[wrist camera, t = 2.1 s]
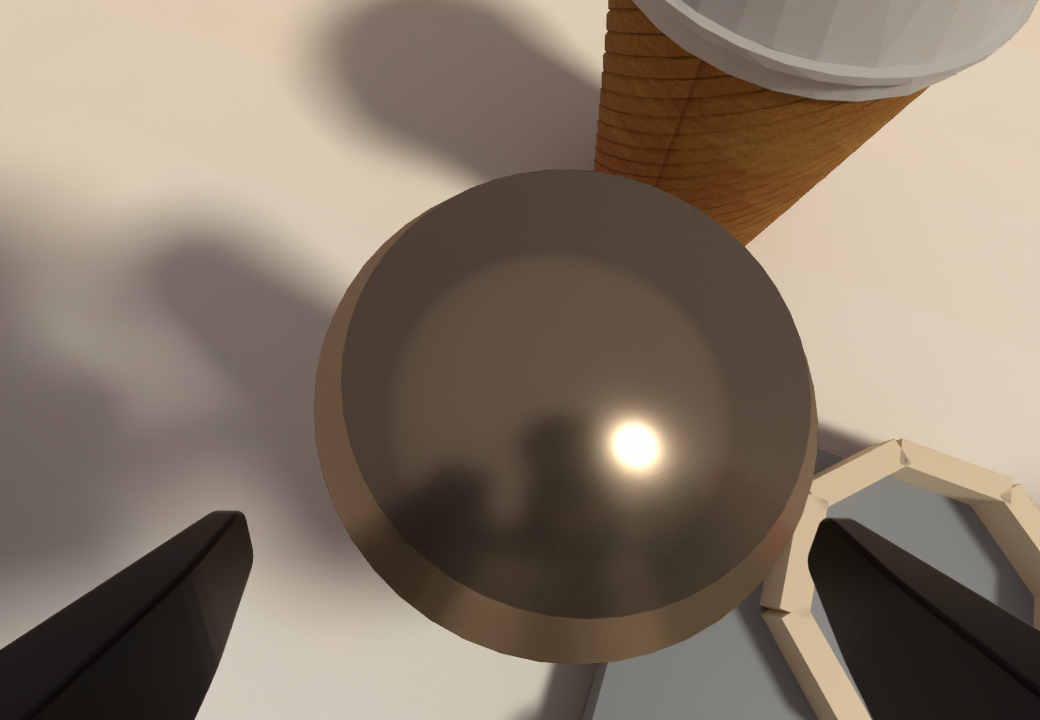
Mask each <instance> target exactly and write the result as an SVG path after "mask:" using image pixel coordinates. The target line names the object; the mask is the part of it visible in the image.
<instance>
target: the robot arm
mask: <svg viewBox="0 0 1040 720" xmlns="http://www.w3.org/2000/svg"><path fill="white" fill-rule="evenodd" d="M252 563H253V548H252V544H251V539H250V535H249V530H248V525H247V521H246V518H245V515H244V514H243V513H242V512H240V511H214V512H211V513H209V514H208V515H206V516H205V517H203V518H202V519H200V520H198V521H197V522H195V523H194V524H192V525H191V526H189V527H188V528H186V529H185V530H183V531H182V532H180V533H179V534H177V535H175V536H174V537H172V538H171V539H169V540H168V541H166V542H165V543H163V544H162V545H160V546H159V547H157V548H156V549H154V550H152V551H151V552H149V553H148V554H146V555H145V556H143V557H142V558H140V559H139V560H137V561H136V562H134V563H133V564H131V565H130V566H128V567H126V568H125V569H123V570H122V571H120V572H119V573H117V574H116V575H114V576H113V577H111V578H110V579H108V580H107V581H105V582H103V583H102V584H100V585H99V586H97V587H96V588H94V589H93V590H91V591H90V592H88V593H87V594H85V595H84V596H82V597H80V598H79V599H77V600H76V601H74V602H73V603H71V604H70V605H68V606H67V607H65V608H64V609H62V610H61V611H59V612H57V613H56V614H54V615H53V616H51V617H50V618H48V619H47V620H45V621H44V622H42V623H41V624H39V625H38V626H36V627H35V628H33V629H31V630H30V631H28V632H27V633H25V634H24V635H22V636H21V637H19V638H18V639H16V640H15V641H13V642H12V643H10V644H8V645H7V646H5V647H4V648H2V649H1V650H0V720H195V718H196V716H197V713H198V711H199V709H200V707H201V705H202V702H203V700H204V698H205V696H206V693H207V691H208V689H209V687H210V685H211V682H212V680H213V678H214V675H215V673H216V671H217V668H218V666H219V663H220V660H221V657H222V655H223V652H224V649H225V646H226V643H227V640H228V637H229V634H230V631H231V628H232V625H233V622H234V619H235V616H236V613H237V610H238V607H239V604H240V601H241V598H242V595H243V592H244V589H245V586H246V583H247V580H248V577H249V574H250V571H251V568H252ZM808 569H809V572H810V575H811V578H812V580H813V583H814V585H815V588H816V590H817V593H818V596H819V598H820V601H821V603H822V606H823V608H824V611H825V613H826V616H827V619H828V621H829V624H830V626H831V629H832V631H833V634H834V637H835V639H836V642H837V644H838V647H839V649H840V652H841V654H842V656H843V659H844V661H845V663H846V666H847V668H848V670H849V672H850V674H851V676H852V678H853V680H854V683H855V685H856V687H857V689H858V691H859V692H860V694H861V696H862V698H863V700H864V702H865V704H866V706H867V708H868V710H869V712H870V714H871V716H872V718H873V720H1040V630H1038V629H1036V628H1035V627H1033V626H1031V625H1030V624H1028V623H1026V622H1025V621H1023V620H1021V619H1019V618H1018V617H1016V616H1014V615H1013V614H1011V613H1009V612H1008V611H1006V610H1004V609H1003V608H1001V607H999V606H998V605H996V604H994V603H993V602H991V601H989V600H988V599H986V598H984V597H983V596H981V595H979V594H978V593H976V592H974V591H973V590H971V589H969V588H968V587H966V586H964V585H962V584H961V583H959V582H957V581H956V580H954V579H952V578H951V577H949V576H947V575H946V574H944V573H942V572H941V571H939V570H937V569H936V568H934V567H932V566H931V565H929V564H927V563H926V562H924V561H922V560H921V559H919V558H917V557H916V556H914V555H912V554H911V553H909V552H907V551H906V550H904V549H902V548H900V547H899V546H897V545H895V544H894V543H892V542H890V541H889V540H887V539H885V538H884V537H882V536H880V535H879V534H877V533H875V532H874V531H872V530H870V529H869V528H867V527H865V526H864V525H862V524H860V523H859V522H857V521H855V520H853V519H851V518H840V517H828V518H824V519H823V520H822V521H821V522H820V523H819V525H818V528H817V531H816V534H815V537H814V540H813V542H812V545H811V548H810V551H809V554H808Z"/></svg>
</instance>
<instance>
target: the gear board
mask: <svg viewBox="0 0 1040 720" xmlns="http://www.w3.org/2000/svg"><path fill="white" fill-rule="evenodd" d="M828 517H840V518H851V519H853V520H855V521H857V522H859V523H860V524H862V525H864V526H865V527H867V528H869V529H870V530H872V531H874V532H875V533H877V534H879V535H880V536H882V537H884V538H885V539H887V540H889V541H890V542H892V543H894V544H895V545H897V546H899V547H900V548H902V549H904V550H906V551H907V552H909V553H911V554H912V555H914V556H916V557H917V558H919V559H921V560H922V561H924V562H926V563H927V564H929V565H931V566H932V567H934V568H936V569H937V570H939V571H941V572H942V573H944V574H946V575H947V576H949V577H951V578H952V579H954V580H956V581H957V582H959V583H961V584H962V585H964V586H966V587H968V588H969V589H971V590H973V591H974V592H976V593H978V594H979V595H981V596H983V597H984V598H986V599H988V600H989V601H991V602H993V603H994V604H996V605H998V606H999V607H1001V608H1003V609H1004V610H1006V611H1008V612H1009V613H1011V614H1013V615H1014V616H1016V617H1018V618H1019V619H1021V620H1023V621H1025V622H1026V623H1028V624H1030V625H1031V626H1033V627H1035V628H1036V629H1038V630H1040V511H1039V509H1038V508H1037V507H1036V505H1035V504H1034V503H1033V501H1032V500H1031V498H1030V497H1029V496H1028V494H1027V493H1026V492H1025V490H1024V489H1023V488H1022V486H1021V485H1020V484H1015V485H1012V478H1010V477H1008V476H1005V475H1002V474H999V473H996V472H994V471H991V470H988V469H985V468H983V467H980V466H977V465H974V464H971V463H969V462H966V461H963V460H960V459H958V458H955V457H952V456H949V455H946V454H944V453H941V452H938V451H935V450H933V449H930V448H927V447H924V446H921V445H919V444H916V443H913V442H910V441H908V440H905V439H900V440H895V439H892V440H889V441H886V442H883V443H879V444H876V445H873V446H869V447H867V448H865V449H863V450H861V451H860V452H858V453H856V454H854V455H852V456H850V457H848V458H846V459H842V458H839V457H836V456H834V455H831V454H828V453H825V452H823V451H820V450H817V455H816V461H815V468H814V474H813V481H812V485H811V488H810V492H809V495H808V498H807V502H806V505H805V508H804V512H803V515H802V517H801V519H800V521H799V523H798V525H797V527H796V530H795V532H794V534H793V536H792V538H791V540H790V542H789V544H788V546H787V547H786V549H785V550H784V552H783V553H782V555H781V557H780V558H779V560H778V561H777V563H776V564H775V566H774V567H773V569H772V570H771V572H770V573H769V574H768V575H767V576H766V577H765V579H764V580H763V581H762V582H761V583H760V584H759V585H758V586H757V587H756V588H755V590H754V591H753V592H752V593H751V594H750V595H749V596H748V597H747V598H746V599H745V600H744V601H743V602H742V603H740V604H739V605H738V606H737V607H735V608H734V609H733V610H732V611H730V612H729V613H728V614H727V615H725V616H724V617H723V618H722V619H721V620H719V621H718V622H716V623H715V624H713V625H711V626H709V627H708V628H706V629H704V630H703V631H701V632H699V633H697V634H696V635H694V636H692V637H691V638H689V639H687V640H685V641H682V642H680V643H677V644H675V645H672V646H670V647H667V648H665V649H662V650H659V651H657V652H654V653H651V654H647V655H643V656H638V657H634V658H630V659H625V660H621V661H617V662H605V663H598V664H597V668H596V671H595V675H594V678H593V682H592V685H591V689H590V692H589V696H588V699H587V703H586V706H585V710H584V713H583V717H582V720H873V718H872V716H871V714H870V712H869V710H868V708H867V706H866V704H865V702H864V700H863V698H862V696H861V694H860V692H859V691H858V689H857V687H856V685H855V683H854V680H853V678H852V676H851V674H850V672H849V670H848V668H847V666H846V663H845V661H844V659H843V656H842V654H841V652H840V649H839V647H838V644H837V642H836V639H835V637H834V634H833V631H832V629H831V626H830V624H829V621H828V619H827V616H826V613H825V611H824V608H823V606H822V603H821V601H820V598H819V596H818V593H817V590H816V588H815V585H814V583H813V580H812V578H811V575H810V572H809V569H808V554H809V551H810V548H811V545H812V542H813V540H814V537H815V534H816V531H817V528H818V525H819V523H820V522H821V521H822V520H823V519H824V518H828Z"/></svg>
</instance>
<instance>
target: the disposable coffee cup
mask: <svg viewBox="0 0 1040 720" xmlns="http://www.w3.org/2000/svg"><path fill="white" fill-rule="evenodd" d="M1037 1H1038V0H608V9H609V10H610V11H609V12H608V13H607V23H606V29H607V30H608V32H607V33H606V35H605V51H606V52H605V53H604V55H603V69H604V71H603V72H602V88H601V92H600V103H601V104H599V120H598V133H597V146H596V155H595V157H596V158H595V165H594V172H601V173H606V174H611V175H616V176H621V177H626V178H629V179H632V180H635V181H638V182H642V183H645V184H648V185H651V186H654V187H656V188H658V189H660V190H663V191H665V192H667V193H669V194H672V195H674V196H676V197H678V198H680V199H682V200H683V201H685V202H687V203H689V204H690V205H692V206H694V207H696V208H697V209H699V210H701V211H702V212H703V213H705V214H706V215H708V216H709V217H710V218H712V219H713V220H715V221H716V222H717V223H719V224H720V225H721V226H723V227H724V228H725V229H726V230H727V231H728V232H729V233H730V234H732V235H733V236H734V237H735V238H736V239H737V240H738V241H739V242H740V243H741V244H743V245H744V247H745V246H746V245H747V244H748V243H749V242H750V241H752V240H753V239H754V238H755V237H756V236H757V235H758V234H760V233H761V232H762V231H763V230H764V229H765V228H767V227H768V226H769V225H770V224H771V223H772V222H774V221H775V220H776V219H777V218H778V217H779V216H780V215H782V214H783V213H784V212H786V211H787V210H788V209H789V208H790V207H791V206H792V205H793V204H794V203H796V202H797V201H798V200H799V199H800V198H801V197H802V196H803V195H805V194H806V193H807V192H808V191H809V190H810V189H811V188H813V187H814V186H815V185H816V184H817V183H818V182H820V181H821V180H822V179H824V178H825V177H826V176H827V175H828V174H829V173H830V172H831V171H832V170H834V169H835V168H836V167H837V166H839V165H840V164H841V163H842V162H843V161H844V160H845V159H846V158H847V157H849V156H850V155H851V154H852V153H853V152H855V151H856V150H857V149H858V148H859V147H860V146H861V145H862V144H864V143H865V142H866V141H867V140H868V139H869V138H871V137H872V136H873V135H874V134H875V133H876V132H878V131H879V130H880V129H881V128H882V127H883V126H884V125H885V124H886V123H888V122H889V121H890V120H892V119H893V118H894V117H895V116H896V115H897V114H898V113H899V112H901V111H902V110H903V109H904V108H905V107H906V106H907V105H908V104H909V103H911V102H912V101H913V100H914V99H916V98H917V97H918V96H920V95H921V94H922V93H923V92H924V91H925V90H926V89H927V88H928V87H930V86H931V85H933V84H935V83H938V82H940V81H942V80H945V79H947V78H949V77H951V76H954V75H956V74H957V73H958V72H960V71H962V70H964V69H966V68H968V67H970V66H972V65H975V64H977V63H979V62H981V61H983V60H985V59H986V58H987V57H989V56H990V55H991V54H993V53H994V52H995V51H996V50H998V49H999V48H1000V47H1001V46H1003V45H1004V44H1005V43H1007V42H1008V41H1009V40H1010V39H1012V37H1013V36H1014V35H1015V34H1016V33H1017V32H1018V31H1019V30H1020V29H1021V28H1022V27H1023V26H1024V25H1025V24H1026V22H1027V21H1028V19H1029V17H1030V15H1031V13H1032V11H1033V9H1034V7H1035V5H1036V3H1037Z"/></svg>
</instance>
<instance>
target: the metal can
mask: <svg viewBox="0 0 1040 720" xmlns="http://www.w3.org/2000/svg"><path fill="white" fill-rule="evenodd" d="M314 417H315V432H316V443H317V448H318V453H319V458H320V462H321V467H322V472H323V476H324V479H325V482H326V484H327V487H328V490H329V493H330V495H331V498H332V501H333V504H334V506H335V509H336V511H337V513H338V514H339V516H340V518H341V520H342V522H343V524H344V526H345V528H346V529H347V531H348V533H349V535H350V537H351V539H352V541H353V542H354V543H355V545H356V546H357V547H358V549H359V550H360V552H361V553H362V554H363V556H364V557H365V558H366V560H367V561H368V562H369V564H370V565H371V567H372V568H373V569H374V571H375V572H376V573H377V574H378V575H379V576H380V577H381V578H382V579H383V580H384V581H385V582H386V583H387V584H388V585H389V586H390V587H391V588H392V589H393V590H394V591H395V592H396V593H397V594H398V595H399V596H400V597H401V598H402V599H404V600H405V601H406V602H408V603H409V604H410V605H411V606H413V607H414V608H415V609H417V610H418V611H419V612H421V613H422V614H423V615H425V616H426V617H427V618H428V619H430V620H431V621H433V622H435V623H436V624H438V625H440V626H442V627H444V628H445V629H447V630H449V631H451V632H453V633H454V634H456V635H458V636H460V637H461V638H463V639H465V640H468V641H470V642H473V643H476V644H478V645H481V646H483V647H486V648H489V649H491V650H494V651H497V652H499V653H502V654H507V655H511V656H516V657H520V658H525V659H529V660H533V661H538V662H549V663H563V664H577V665H578V664H592V663H605V662H617V661H621V660H625V659H630V658H634V657H638V656H643V655H647V654H651V653H654V652H657V651H659V650H662V649H665V648H667V647H670V646H672V645H675V644H677V643H680V642H682V641H685V640H687V639H689V638H691V637H692V636H694V635H696V634H697V633H699V632H701V631H703V630H704V629H706V628H708V627H709V626H711V625H713V624H715V623H716V622H718V621H719V620H721V619H722V618H723V617H724V616H725V615H727V614H728V613H729V612H730V611H732V610H733V609H734V608H735V607H737V606H738V605H739V604H740V603H742V602H743V601H744V600H745V599H746V598H747V597H748V596H749V595H750V594H751V593H752V592H753V591H754V590H755V588H756V587H757V586H758V585H759V584H760V583H761V582H762V581H763V580H764V579H765V577H766V576H767V575H768V574H769V573H770V572H771V570H772V569H773V567H774V566H775V564H776V563H777V561H778V560H779V558H780V557H781V555H782V553H783V552H784V550H785V549H786V547H787V546H788V544H789V542H790V540H791V538H792V536H793V534H794V532H795V530H796V527H797V525H798V523H799V521H800V519H801V517H802V515H803V512H804V508H805V505H806V502H807V498H808V495H809V492H810V488H811V485H812V481H813V474H814V468H815V461H816V455H817V428H818V418H817V409H816V401H815V392H814V386H813V382H812V378H811V374H810V370H809V366H808V362H807V358H806V355H805V353H804V350H803V347H802V343H801V339H800V337H799V334H798V331H797V329H796V326H795V324H794V321H793V319H792V316H791V313H790V311H789V310H788V308H787V306H786V304H785V302H784V300H783V298H782V297H781V295H780V293H779V291H778V289H777V287H776V286H775V285H774V283H773V282H772V280H771V279H770V277H769V276H768V275H767V273H766V272H765V270H764V269H763V267H762V266H761V265H760V264H759V262H758V261H757V260H756V259H755V258H754V257H753V256H752V255H751V253H750V252H749V251H748V250H747V249H746V248H745V247H744V245H743V244H741V243H740V242H739V241H738V240H737V239H736V238H735V237H734V236H733V235H732V234H730V233H729V232H728V231H727V230H726V229H725V228H724V227H723V226H721V225H720V224H719V223H717V222H716V221H715V220H713V219H712V218H710V217H709V216H708V215H706V214H705V213H703V212H702V211H701V210H699V209H697V208H696V207H694V206H692V205H690V204H689V203H687V202H685V201H683V200H682V199H680V198H678V197H676V196H674V195H672V194H669V193H667V192H665V191H663V190H660V189H658V188H656V187H654V186H651V185H648V184H645V183H642V182H638V181H635V180H632V179H629V178H626V177H621V176H616V175H611V174H606V173H601V172H592V171H581V170H544V171H536V172H527V173H520V174H516V175H512V176H507V177H503V178H499V179H495V180H492V181H489V182H487V183H484V184H481V185H478V186H476V187H473V188H470V189H468V190H466V191H464V192H462V193H460V194H458V195H456V196H454V197H452V198H450V199H448V200H446V201H444V202H442V203H440V204H438V205H436V206H434V207H432V208H430V209H429V210H427V211H426V212H424V213H423V214H421V215H420V216H418V217H417V218H415V219H413V220H412V221H410V222H409V223H407V224H406V225H405V226H404V227H402V228H401V229H400V230H399V231H398V232H397V233H395V234H394V235H393V236H392V237H391V238H390V239H388V240H387V241H386V242H385V243H384V244H383V245H382V246H381V247H380V248H379V249H378V250H377V251H376V253H375V254H374V255H373V256H372V257H371V258H370V259H369V260H368V261H367V262H366V264H365V265H364V266H363V267H362V269H361V270H360V272H359V273H358V275H357V276H356V277H355V279H354V280H353V282H352V283H351V285H350V286H349V287H348V289H347V291H346V293H345V294H344V296H343V298H342V300H341V302H340V304H339V306H338V308H337V310H336V312H335V314H334V316H333V318H332V321H331V324H330V327H329V329H328V332H327V335H326V338H325V340H324V343H323V347H322V351H321V356H320V361H319V365H318V370H317V375H316V386H315V400H314Z"/></svg>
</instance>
